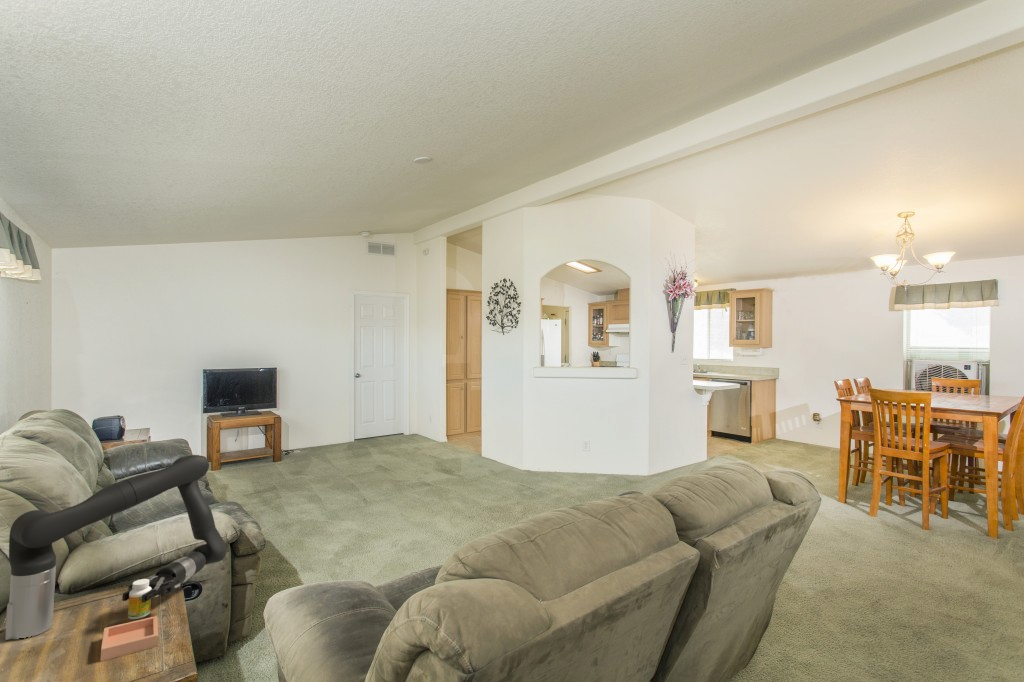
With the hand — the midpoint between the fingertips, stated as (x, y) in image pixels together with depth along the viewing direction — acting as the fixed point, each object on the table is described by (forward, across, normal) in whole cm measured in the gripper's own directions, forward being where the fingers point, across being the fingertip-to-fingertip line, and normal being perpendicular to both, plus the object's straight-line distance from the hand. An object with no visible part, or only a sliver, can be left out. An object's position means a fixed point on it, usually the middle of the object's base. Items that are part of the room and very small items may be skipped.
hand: (133, 598), depth 144 cm
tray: (+8, +6, +8) cm, 13 cm away
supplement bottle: (-3, 0, +6) cm, 7 cm away
